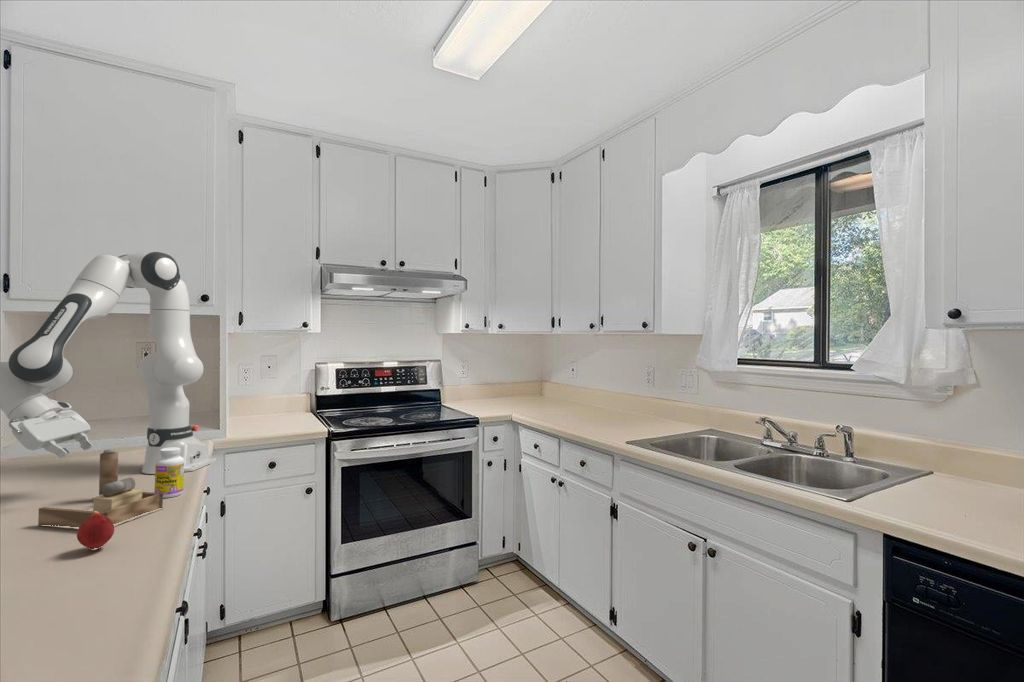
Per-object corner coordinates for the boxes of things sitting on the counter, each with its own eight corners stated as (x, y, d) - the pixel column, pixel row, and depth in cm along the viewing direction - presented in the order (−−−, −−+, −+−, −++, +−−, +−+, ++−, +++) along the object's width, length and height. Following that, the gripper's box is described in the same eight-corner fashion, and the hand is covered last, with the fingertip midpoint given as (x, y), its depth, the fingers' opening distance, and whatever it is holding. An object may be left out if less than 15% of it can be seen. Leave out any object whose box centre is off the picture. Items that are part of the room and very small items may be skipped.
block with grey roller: (124, 510, 126) (125, 475, 126) (143, 511, 125) (144, 477, 125) (91, 521, 117) (92, 484, 118) (111, 523, 117) (112, 486, 117)
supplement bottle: (150, 499, 136) (151, 451, 136) (160, 492, 142) (161, 446, 142) (178, 497, 138) (179, 450, 138) (186, 491, 144) (188, 446, 144)
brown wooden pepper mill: (108, 496, 138) (110, 448, 138) (124, 497, 137) (125, 449, 137) (91, 501, 133) (92, 451, 133) (107, 503, 132) (108, 452, 132)
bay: (105, 504, 131) (105, 489, 131) (162, 509, 128) (162, 493, 128) (38, 526, 115) (38, 508, 115) (101, 531, 113) (102, 513, 113)
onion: (109, 542, 107) (110, 504, 107) (117, 549, 103) (118, 510, 103) (73, 550, 102) (74, 511, 103) (80, 558, 99) (81, 517, 99)
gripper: (15, 411, 122) (60, 451, 124) (72, 402, 142) (110, 436, 144) (-7, 430, 121) (38, 469, 123) (53, 418, 142) (92, 452, 143)
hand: (77, 451), depth 134 cm, fingers open, 8 cm apart
